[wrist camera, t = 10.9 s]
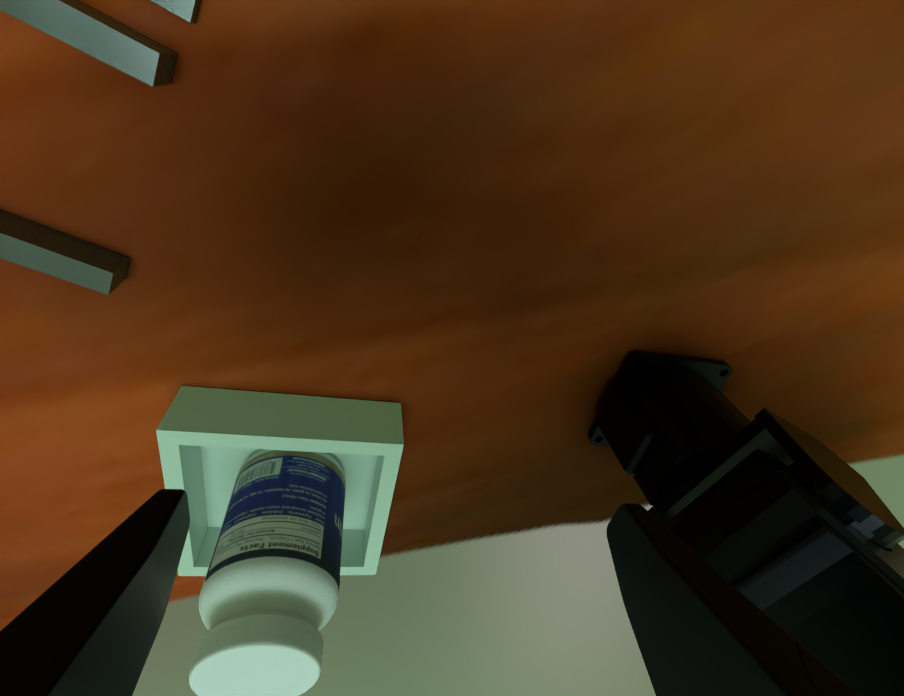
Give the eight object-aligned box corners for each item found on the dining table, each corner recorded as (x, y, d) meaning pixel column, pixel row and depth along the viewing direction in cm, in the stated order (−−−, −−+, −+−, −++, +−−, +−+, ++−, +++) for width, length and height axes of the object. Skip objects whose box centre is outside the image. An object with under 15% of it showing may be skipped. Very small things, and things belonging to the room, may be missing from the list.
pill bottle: (332, 516, 28) (313, 714, 19) (231, 503, 26) (163, 714, 18) (359, 449, 25) (351, 645, 17) (248, 429, 23) (178, 637, 15)
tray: (400, 403, 25) (403, 444, 22) (375, 529, 30) (375, 575, 27) (181, 385, 22) (156, 429, 20) (197, 526, 28) (178, 576, 25)
